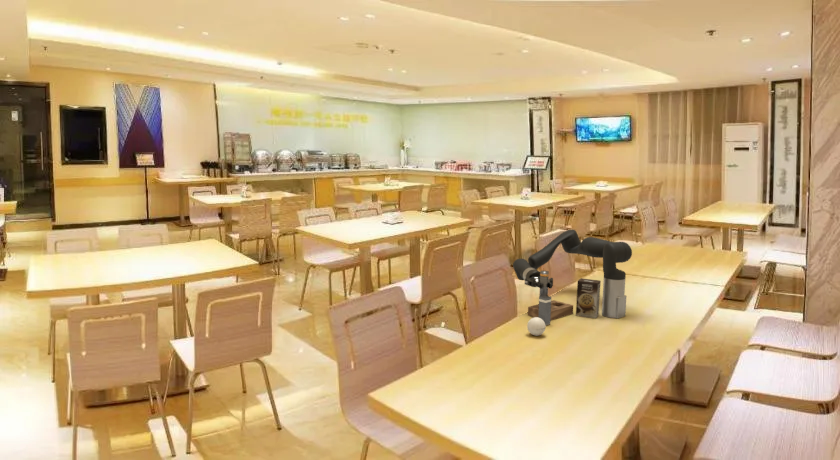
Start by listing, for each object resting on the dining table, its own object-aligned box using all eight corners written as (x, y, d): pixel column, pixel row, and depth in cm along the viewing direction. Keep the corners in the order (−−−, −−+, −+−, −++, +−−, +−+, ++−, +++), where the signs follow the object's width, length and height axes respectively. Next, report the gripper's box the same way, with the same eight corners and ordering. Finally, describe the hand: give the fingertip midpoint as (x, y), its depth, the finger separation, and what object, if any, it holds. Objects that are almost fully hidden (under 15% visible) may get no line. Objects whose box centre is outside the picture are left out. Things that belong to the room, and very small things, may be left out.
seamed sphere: (531, 338, 237) (532, 321, 236) (523, 333, 244) (524, 315, 243) (554, 336, 240) (555, 319, 239) (546, 331, 247) (546, 313, 246)
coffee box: (575, 315, 268) (576, 280, 266) (578, 312, 274) (580, 277, 271) (596, 318, 264) (597, 283, 262) (599, 315, 270) (600, 279, 267)
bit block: (572, 313, 271) (573, 305, 271) (547, 321, 260) (547, 312, 259) (553, 308, 280) (553, 300, 279) (527, 315, 268) (528, 306, 268)
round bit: (549, 302, 266) (550, 271, 264) (543, 303, 264) (545, 272, 262) (542, 300, 269) (544, 270, 267) (537, 302, 267) (538, 271, 265)
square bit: (550, 324, 256) (551, 296, 254) (544, 325, 254) (545, 298, 252) (543, 322, 259) (544, 295, 257) (538, 323, 257) (538, 296, 255)
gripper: (547, 284, 281) (561, 294, 264) (518, 285, 279) (530, 295, 262) (547, 268, 280) (562, 277, 263) (518, 269, 278) (531, 278, 261)
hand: (546, 286), depth 263 cm, fingers closed on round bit, 3 cm apart
